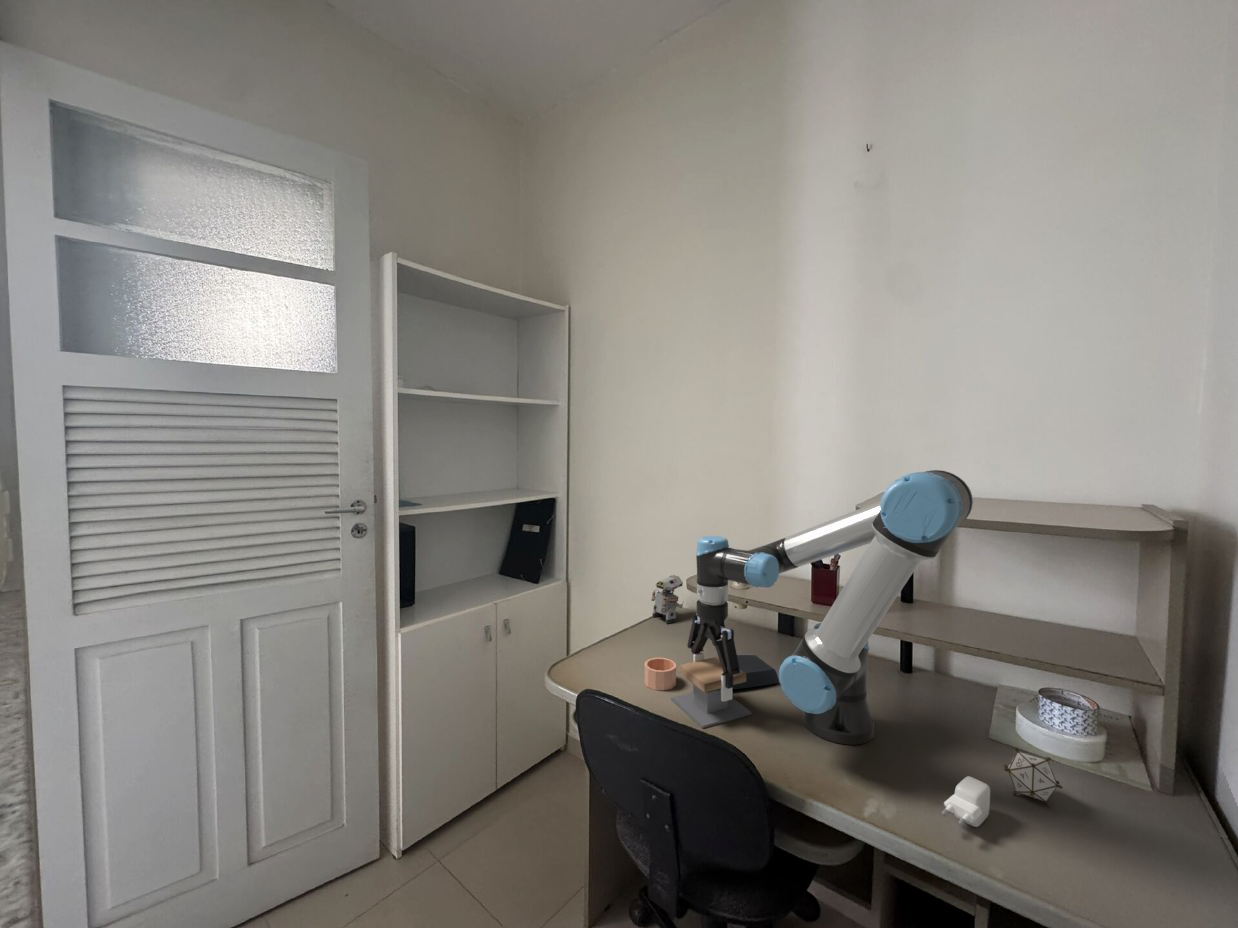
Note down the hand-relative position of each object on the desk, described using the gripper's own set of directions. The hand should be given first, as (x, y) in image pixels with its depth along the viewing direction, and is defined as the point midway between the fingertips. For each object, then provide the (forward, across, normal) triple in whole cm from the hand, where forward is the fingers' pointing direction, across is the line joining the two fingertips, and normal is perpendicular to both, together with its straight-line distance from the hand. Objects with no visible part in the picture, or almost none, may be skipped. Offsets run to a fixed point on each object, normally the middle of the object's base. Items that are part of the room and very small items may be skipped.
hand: (712, 688), depth 127 cm
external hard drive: (+5, -10, +15) cm, 18 cm away
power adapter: (+6, +50, +18) cm, 53 cm away
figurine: (+4, -58, +22) cm, 62 cm away
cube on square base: (+5, 0, 0) cm, 5 cm away
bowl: (+4, -16, -5) cm, 18 cm away
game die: (+6, +50, +36) cm, 62 cm away
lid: (-3, 0, 0) cm, 3 cm away
